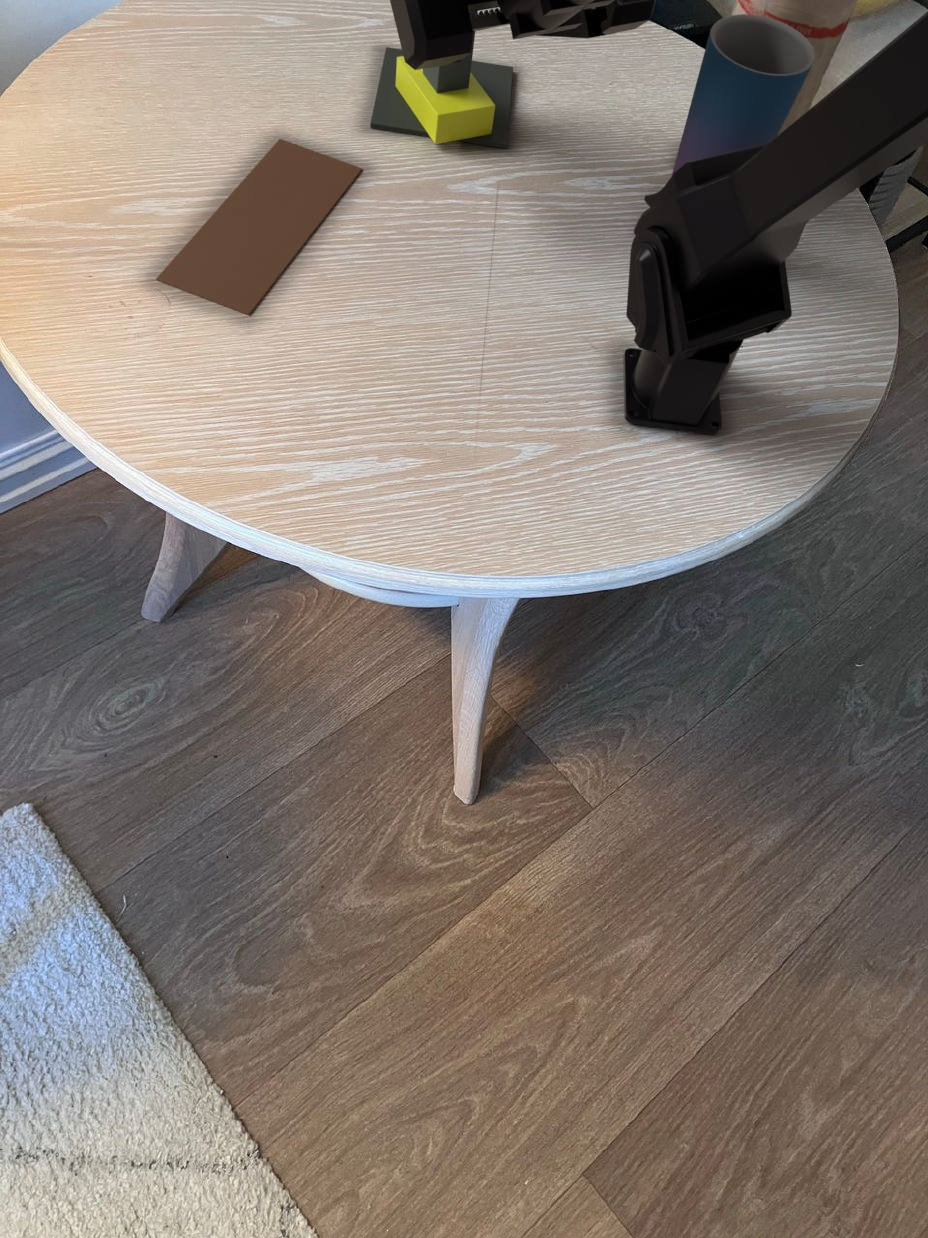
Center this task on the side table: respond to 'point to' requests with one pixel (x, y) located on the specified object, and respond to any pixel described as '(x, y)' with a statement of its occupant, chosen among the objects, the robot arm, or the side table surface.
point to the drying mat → (400, 118)
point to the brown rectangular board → (260, 227)
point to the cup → (744, 86)
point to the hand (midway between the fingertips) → (474, 36)
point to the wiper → (447, 99)
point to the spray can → (806, 36)
